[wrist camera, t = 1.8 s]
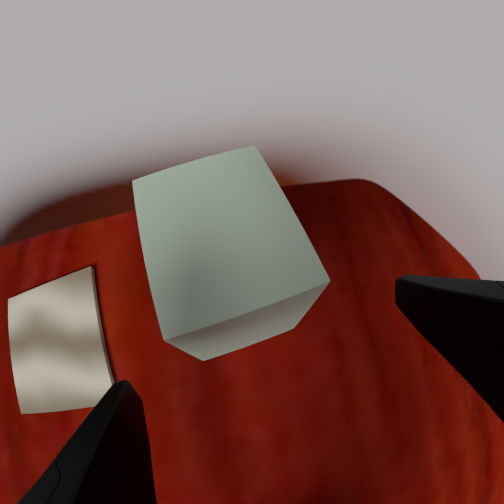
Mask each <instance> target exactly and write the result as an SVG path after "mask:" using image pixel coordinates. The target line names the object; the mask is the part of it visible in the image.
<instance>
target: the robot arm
mask: <svg viewBox="0 0 504 504" xmlns="http://www.w3.org/2000/svg"><path fill="white" fill-rule="evenodd" d="M395 302H396V305H397V307H398V308H399V309H400V310H401V311H402V312H403V314H404V315H405V316H406V317H407V318H408V319H409V321H410V322H411V323H412V324H413V325H414V327H415V328H416V329H417V330H418V331H419V332H420V334H421V335H422V336H423V337H424V338H425V339H426V340H427V341H428V342H429V343H430V344H431V345H432V346H433V347H434V348H435V349H436V350H437V351H438V352H439V353H440V354H441V355H442V356H443V357H444V358H445V359H446V360H447V361H448V362H449V363H450V364H451V365H452V366H453V367H454V368H455V369H456V370H457V371H458V372H459V373H460V374H461V375H462V377H463V378H464V379H465V380H466V381H467V382H468V383H469V384H470V385H471V386H472V387H473V388H474V389H475V391H476V392H477V393H478V394H479V395H480V396H481V397H482V398H483V399H484V400H485V402H486V403H487V404H488V405H489V406H490V407H491V409H492V410H493V411H494V412H495V413H496V414H497V416H498V417H499V418H500V419H501V420H502V422H503V423H504V281H491V280H476V279H461V278H446V277H432V276H418V275H403V276H402V277H400V278H398V279H397V280H396V282H395ZM17 504H157V501H156V495H155V488H154V480H153V471H152V462H151V451H150V443H149V438H148V432H147V427H146V421H145V415H144V409H143V403H142V400H141V398H140V396H139V395H138V394H137V392H136V391H135V390H134V388H133V387H132V385H131V384H130V383H129V381H127V380H121V381H117V382H114V383H113V385H112V386H111V387H110V388H109V390H108V391H107V392H106V393H105V395H104V396H103V397H102V398H101V400H100V401H99V402H98V403H97V405H96V406H95V407H94V408H93V410H92V411H91V412H90V413H89V415H88V416H87V417H86V419H85V420H84V421H83V422H82V424H81V425H80V426H79V428H78V429H77V430H76V431H75V433H74V434H73V435H72V437H71V438H70V439H69V440H68V442H67V443H66V444H65V446H64V447H63V448H62V450H61V451H60V452H59V454H58V455H57V456H56V459H54V460H53V461H52V463H51V464H50V466H49V467H48V468H47V469H46V471H45V472H44V473H43V475H42V476H41V477H40V478H39V479H38V481H37V482H36V483H35V484H34V485H33V486H32V488H31V489H30V490H29V491H28V492H27V493H26V494H25V495H24V496H23V498H22V499H21V500H20V501H19V502H18V503H17Z"/></svg>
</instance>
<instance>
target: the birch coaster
mask: <svg viewBox="0 0 504 504" xmlns="http://www.w3.org/2000/svg"><path fill="white" fill-rule="evenodd" d="M8 324H9V340H10V351H11V360H12V368H13V375H14V381H15V387H16V392H17V397H18V401H19V406H20V410H21V414H30V413H44V412H55V411H64V410H72V409H79V408H86V407H93V406H96V405H97V403H98V402H99V401H100V400H101V398H102V397H103V396H104V395H105V393H106V392H107V391H108V390H109V388H110V387H111V386H112V385H113V383H114V379H113V375H112V371H111V367H110V363H109V359H108V355H107V350H106V345H105V341H104V336H103V330H102V325H101V319H100V313H99V307H98V300H97V292H96V284H95V275H94V269H93V268H92V267H91V266H90V267H87V268H85V269H82V270H79V271H77V272H74V273H72V274H69V275H66V276H64V277H61V278H59V279H56V280H54V281H51V282H49V283H46V284H44V285H41V286H39V287H36V288H34V289H31V290H29V291H27V292H24V293H22V294H19V295H17V296H15V297H12V298H10V299H8Z"/></svg>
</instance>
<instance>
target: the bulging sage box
mask: <svg viewBox="0 0 504 504" xmlns="http://www.w3.org/2000/svg"><path fill="white" fill-rule="evenodd" d="M132 183H133V191H134V199H135V207H136V214H137V220H138V227H139V233H140V239H141V244H142V250H143V255H144V260H145V265H146V270H147V275H148V280H149V284H150V289H151V293H152V297H153V301H154V305H155V309H156V313H157V317H158V321H159V325H160V329H161V332H162V336H163V339H164V341H166V342H168V343H170V344H172V345H173V346H175V347H177V348H179V349H181V350H183V351H185V352H187V353H188V354H190V355H192V356H194V357H196V358H198V359H200V360H202V361H205V360H208V359H211V358H214V357H217V356H220V355H223V354H226V353H229V352H232V351H235V350H238V349H241V348H244V347H246V346H249V345H252V344H255V343H257V342H260V341H263V340H265V339H268V338H271V337H273V336H276V335H279V334H281V333H284V332H286V331H289V330H291V329H294V327H295V326H296V325H297V324H298V323H299V321H300V320H301V319H302V318H303V316H304V315H305V314H306V312H307V311H308V310H309V309H310V307H311V306H312V305H313V303H314V302H315V301H316V300H317V298H318V297H319V296H320V294H321V293H322V292H323V290H324V289H325V288H326V286H327V285H328V284H329V282H330V279H329V277H328V275H327V273H326V271H325V269H324V267H323V265H322V263H321V261H320V259H319V257H318V255H317V253H316V251H315V249H314V248H313V246H312V244H311V242H310V240H309V238H308V236H307V234H306V233H305V231H304V229H303V227H302V225H301V223H300V221H299V220H298V218H297V216H296V214H295V212H294V211H293V209H292V207H291V205H290V203H289V202H288V200H287V198H286V196H285V195H284V193H283V191H282V189H281V188H280V186H279V184H278V182H277V181H276V179H275V177H274V176H273V174H272V172H271V170H270V169H269V167H268V165H267V164H266V162H265V160H264V159H263V157H262V155H261V154H260V152H259V151H258V149H257V147H256V146H255V145H252V146H248V147H244V148H239V149H235V150H231V151H227V152H224V153H219V154H216V155H212V156H208V157H205V158H201V159H198V160H194V161H191V162H188V163H184V164H181V165H177V166H174V167H171V168H168V169H165V170H162V171H159V172H156V173H153V174H150V175H147V176H144V177H141V178H138V179H136V180H133V181H132Z"/></svg>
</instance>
